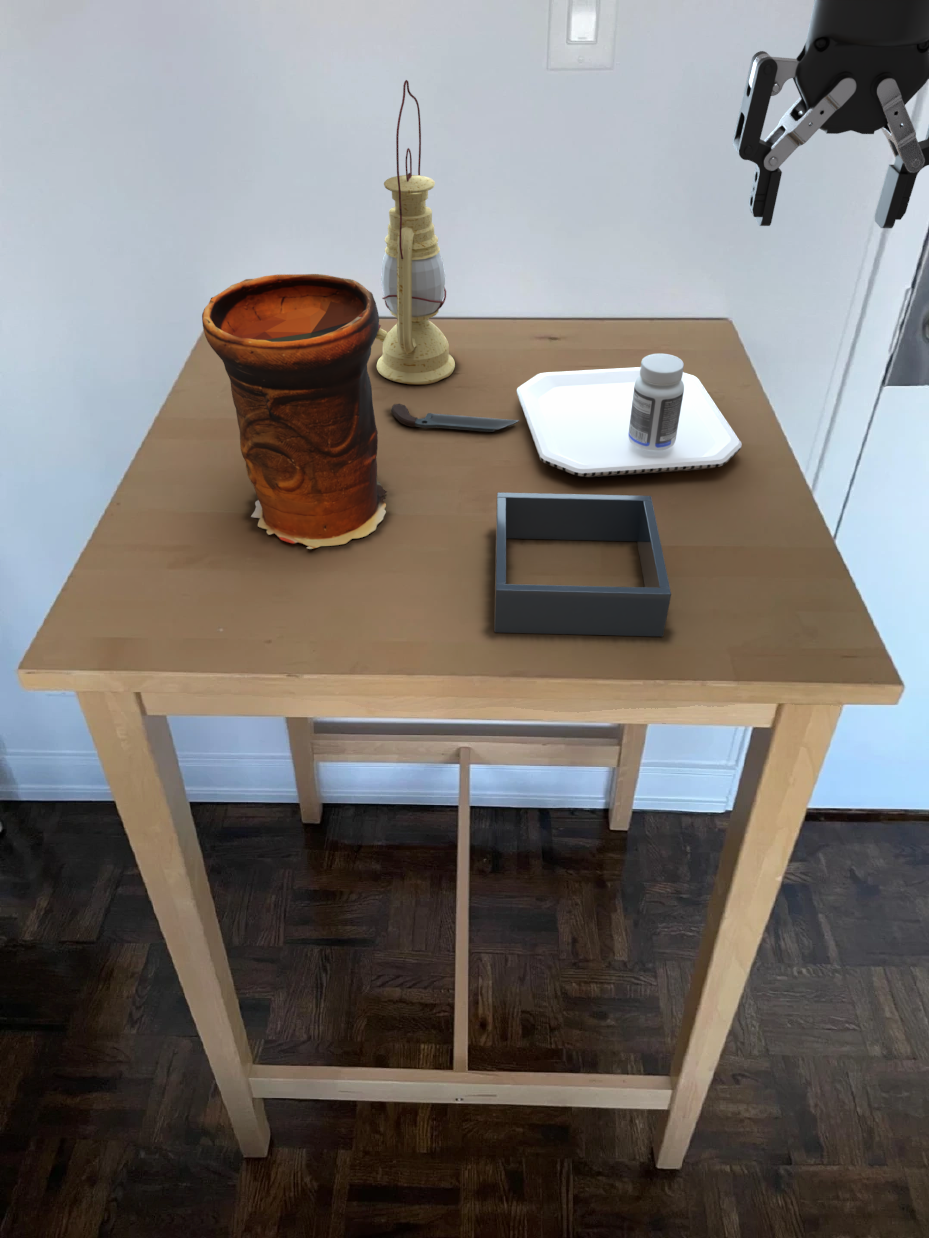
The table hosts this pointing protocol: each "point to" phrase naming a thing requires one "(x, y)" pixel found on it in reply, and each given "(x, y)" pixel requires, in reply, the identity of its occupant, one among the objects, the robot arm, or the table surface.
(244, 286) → the vessel
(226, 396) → the table surface
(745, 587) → the table surface
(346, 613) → the table surface
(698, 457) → the plate
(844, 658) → the table surface
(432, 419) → the knife
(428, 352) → the lantern
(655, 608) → the square frame
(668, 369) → the pill bottle
